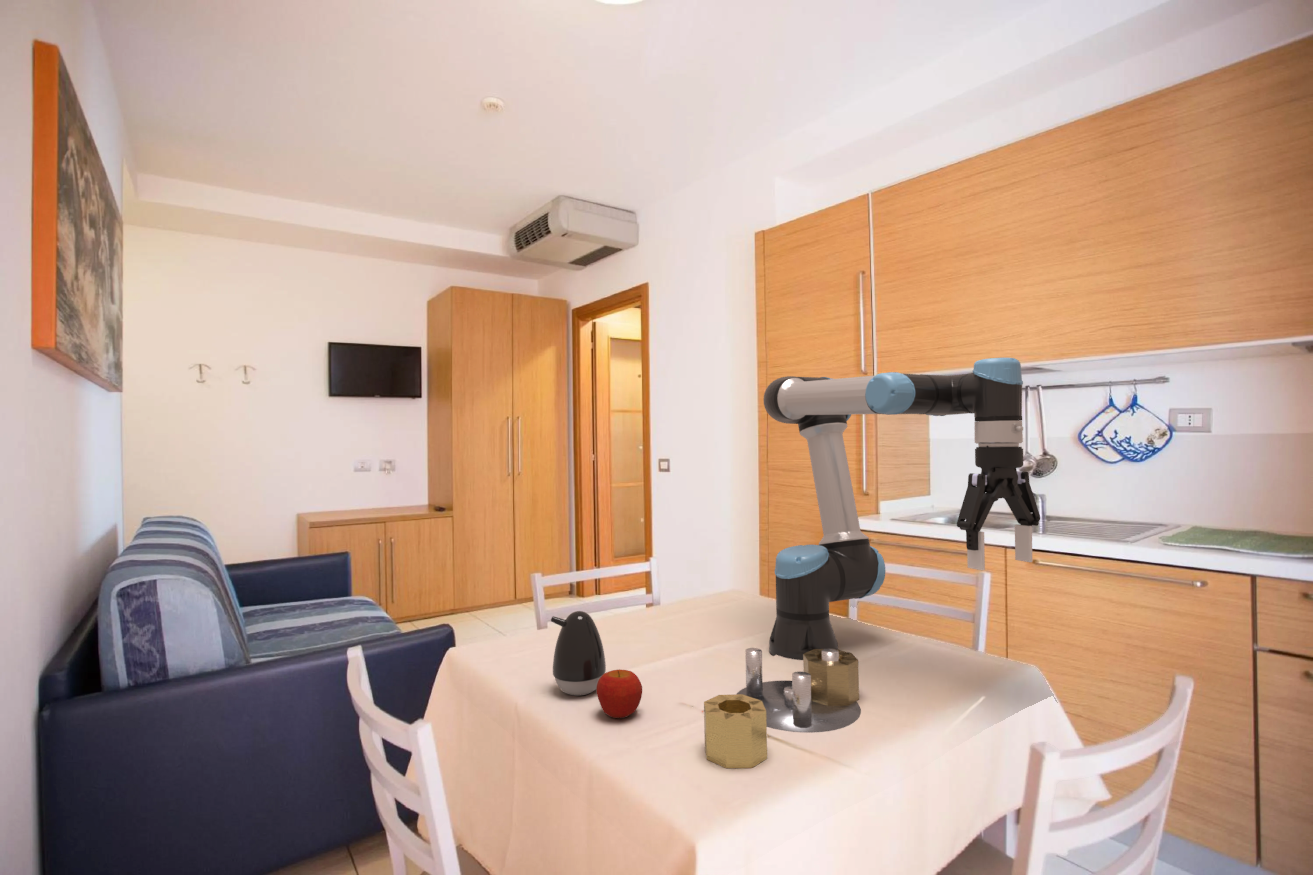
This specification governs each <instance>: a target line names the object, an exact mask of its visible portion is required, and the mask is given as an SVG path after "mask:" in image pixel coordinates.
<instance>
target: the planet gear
mask: <svg viewBox="0 0 1313 875" xmlns="http://www.w3.org/2000/svg"><path fill="white" fill-rule="evenodd" d="M736 694H737V693H736ZM736 694H717V695H715V696H713V697H712V698H709V699H708V700H705V701H703V715H704V716H703V719H704V720H703V722H704V723H703V724H704V725H703V726H704V731H703V732H704V752H705V757H706V761H709V762H712V763H714V764H716V765H718V766H720V767H722V768H725V769H753V768H754V767H756V766H757V765H759V764H760V763H763V762H764V761H766V760H767V759H768V739H767V738H768V737H767V736H768V735H767V733H768V730H767V728H768V727H767V725H766V709H765V707H764V705H763V702H762V701H761V700H758V699H755V698H752V697H749V696H746V695H743V694H737V695H736Z"/></svg>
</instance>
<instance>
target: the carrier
mask: <svg viewBox="0 0 1313 875" xmlns="http://www.w3.org/2000/svg"><path fill="white" fill-rule="evenodd" d="M744 653H745V687H744V688H742V689H741V690H739V691H737V693H735V695H737V694H743V695H746V696H749V697H752V698H755V699H758V700H761V701H762V702H763V705H764V707H765V709H766V725H767V728H769V729H770V728H771V729H774V730H779V731H785V732H791V733H792V732H793V733H806V734H807V733H824V732H831V731H836V730H840V729H844V728H846V727H848V726H850V725H852V724H854V723H855V722H857V721H858V720H859V718H860V716H861V714H862V708H861V706H860V704H859V702H857V701H855V702H854V703H852V704H851V705H849V706H827V705H823V704H820V703H817V702H814V701H811V675H810V674H809V673H807V672H804V671H795V672H792V674H791V677H792V678H791V680H772V681H771V680H769V681H764V682H763V650H762V649H760V648H757V647H750V648H746V649H745V651H744ZM822 660H824V661H828V662H831V661H839V652H838V651H837V650H834V649H823V650H822Z"/></svg>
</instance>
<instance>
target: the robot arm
mask: <svg viewBox="0 0 1313 875" xmlns="http://www.w3.org/2000/svg"><path fill="white" fill-rule="evenodd" d="M1022 377H1023V376H1022V365H1021V362H1020V361H1019V360H1018V359H1016V358H1014V357H993V358H989V357H988V358H983V359H980V360H976V361H975V362H974V364H973V370H972V372H970V373H965V374H964V373H963V374H953V375H952V374H951V375H946V374H945V375H942V374H941V375H940V374H923V373H921V374H916V373H914V374H913V373H902V372H901V373H900V372H899V371H898V372H897V371H894V372H892V371H891V372H881V373H878V374H876V375H866V376H864V375H863V376H854V377H843V378H842V377H841V378H830V377H827V376H820V377H818V376H816V377H813V376H793V375H790V376H789V375H787V376H783V377H779V378H776V379H774V380H773V381H772V382H770V383H769V385H767V387H766V389H765V391H764V394H763V406H764V409H765V411H766V413H767V414H768V416H770V417H771V418H772V419H773V420H774V421H777V422H779V423H783V424H788V425H790V424H791V425H797V426H798V431H799V435H800V436H801V437H803V438H804V439H805V440H806V441H807V442H806V443H807V447H808V452H809V458H810V464H811V470H812V476H813V482H814V488H815V493H816V498H817V499H816V500H817V505H818V510H819V517H820V522H821V527H822V534H823V536H822V538H820V539H821V540H820V541H819V542H818V544H805V545H802V544H797V545H793V546H789V547H786V548H784V549H782V550H780V551H779V552H778V553H777V555H776V557H775V566H774V567H775V568H774V574H775V606H776V610H775V612H776V614H775V615H776V618H775V621H774V624H773V627H772V630H771V633H770V635H769V636H770V637H769V641H768V651H769V653H770V654H771V655H772V656H773V657H774V656H778V657H782V658H786V659H791V660H798V661H803V654H804V653H806V652H809V651H811V650H813V649H836V650H839V643H838V640H837V637H836V635H835V632H834V631H835V630H834V628H833V625H832V623H831V619H830V603H835V602H839V601H847V600H854V599H856V600H857V599H863V598H865V597H869V596H872V595H873V596H874V595H875V594H876V593H877V592H878V591H880V589H881V587H882V586H883V583H884V581H885V579H886V578H885V577H886V563H885V560H884V558H883V555H882V553H880V552H879V550H878V549H877V548H876V547H874V546H871V544H870V539H869V538H870V537H869V536H868V535H866V534H864V533H863V531H861V527H860V522H859V516H858V510H857V506H856V501H855V494H854V489H853V484H852V479H851V473H850V472H851V471H850V467H849V463H848V456H847V452H846V446H845V441H844V432H845V431H846V429H847V428H848V422H847V421H849V419H850V418H851V416H852V415H887V416H888V415H889V416H890V415H893V416H895V415H926V416H932V417H933V416H935V417H944V416H945V417H946V416H951V415H953V416H954V415H963V414H964V415H965V414H973V415H974V443H975V444H978V445H977V446H976V448H974V461H975V462H974V464H975V466H976V467H977V468H980V469H981V470H980V471H981V472H980V473H968V478H967V488H966V491H965V494H964V497H963V501H962V503H961V504H962V505H961V507H960V511H959V513H958V514H959V515H958V518H957V521H956V526H957V528H959V530H961V531H965V532H966V533H965V537H966V540H965V541H966V546H965V547H966V551H967V552H966V554H967V557H966V558H967V560H966V561H967V562H966V563H967V569H972V570H977V571H985V570H986V563H985V562H986V561H985V560H986V559H985V558H986V557H985V553H986V552H985V550H986V549H985V531H982V528H983V526H984V524H985V523H986V519H987V517H988V516H989V513H990V511H991V510H992V507H993V506H994V503H995V502H997V501H999V500H1000V499H1004V500H1005V502H1006V504H1007V506H1008V507H1009V509H1010V511H1011V513H1012V515H1013V516H1014V518H1015V520H1016V522H1017V523H1018V524H1014V553H1015V554H1014V560H1015V561H1021V562H1026V563H1033V526H1035V527H1037V526H1039V524H1040V521H1041V515H1040V511H1039V509H1038V505H1037V503H1036V502H1037V501H1036V499H1035V496H1034V493H1033V490H1032V488H1031V484H1030V483H1031V482H1030V474H1029V472H1028V471H1023V470H1022V471H1021V470H1020V471H1017V469H1019V468H1022V467H1023V466H1024V448H1023V447H1022V446H1020V445H1019V444H1022V443H1023V442H1024V441H1023V439H1024V438H1023V431H1024V427H1023V410H1022V409H1023V385H1024V381H1023V378H1022Z"/></svg>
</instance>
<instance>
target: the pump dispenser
mask: <svg viewBox="0 0 1313 875" xmlns="http://www.w3.org/2000/svg"><path fill="white" fill-rule="evenodd" d="M550 622H551V623H554V624H555V625H558V626H560V627H561V629H560V630H559V634H558V636H557V639H556V643H555V646H554V652H553V654H554V655H553V661H552V675H553V677H554V680H555V683H556V685H557V687H558V688H559V689H560V690H561V692H563V693H565V694H567V695H569V696H570V695H571V696H576V697H577V696H585V695H588V694H591V693H592V692H595V691H597V688H596V687H597V683H598V681H599V679H600V678H601V677H602V675H603V674H604V673H606V671H607V669H606V666H607V664H606V657H605V649H604V644H603V641H602V639H601V636H600V633H599V630H598V627H597V625H596V623H595V621H594V620H593V618H592V616H591V615H590V614H589V613H587V612H585V611H583V610H577V611H574V612H571V613H570V614H569V615H568V616H567V617H566V618H562V617H561V618H560V617H557V616H554V615H553V616H551V618H550Z"/></svg>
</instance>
